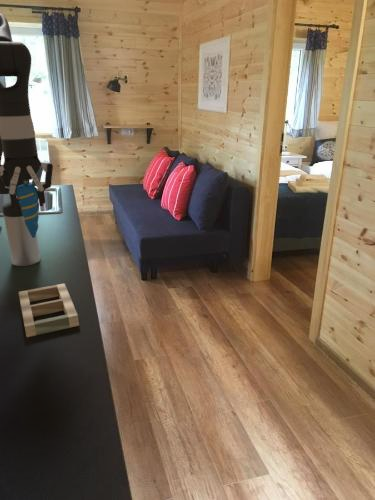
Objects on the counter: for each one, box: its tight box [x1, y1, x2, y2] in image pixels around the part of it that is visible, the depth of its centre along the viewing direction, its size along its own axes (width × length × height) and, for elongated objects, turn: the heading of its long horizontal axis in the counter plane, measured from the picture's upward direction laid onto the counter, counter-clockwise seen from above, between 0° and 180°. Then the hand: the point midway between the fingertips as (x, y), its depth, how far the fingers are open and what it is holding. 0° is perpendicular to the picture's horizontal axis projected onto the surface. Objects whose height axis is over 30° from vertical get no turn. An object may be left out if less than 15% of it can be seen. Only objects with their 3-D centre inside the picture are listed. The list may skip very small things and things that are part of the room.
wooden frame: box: [18, 283, 80, 338], centre depth 112 cm, size 20×12×3 cm, turn 24°
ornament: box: [15, 179, 40, 238], centre depth 104 cm, size 5×5×15 cm
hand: (29, 206), depth 104 cm, fingers closed on ornament, 5 cm apart
